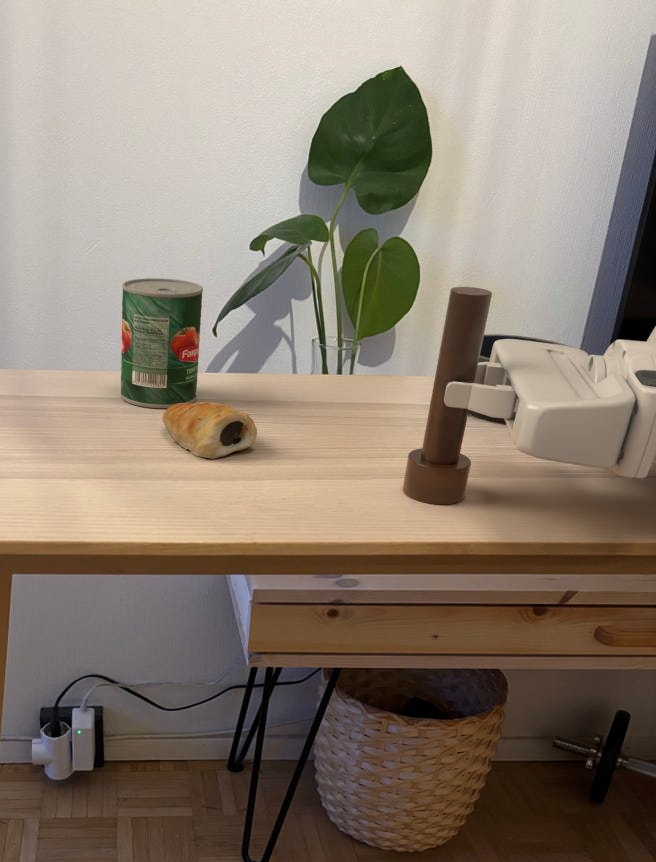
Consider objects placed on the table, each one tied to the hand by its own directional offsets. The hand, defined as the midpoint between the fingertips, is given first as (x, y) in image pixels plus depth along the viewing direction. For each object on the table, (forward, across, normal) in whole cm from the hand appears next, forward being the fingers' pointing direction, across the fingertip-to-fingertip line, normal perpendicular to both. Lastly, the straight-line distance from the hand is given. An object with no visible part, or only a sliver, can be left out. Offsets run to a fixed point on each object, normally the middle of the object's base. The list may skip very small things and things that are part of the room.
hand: (442, 384), depth 74 cm
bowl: (-11, -27, +9) cm, 31 cm away
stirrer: (-1, 0, +9) cm, 9 cm away
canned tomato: (+26, -19, +9) cm, 33 cm away
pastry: (+19, -7, +9) cm, 22 cm away
